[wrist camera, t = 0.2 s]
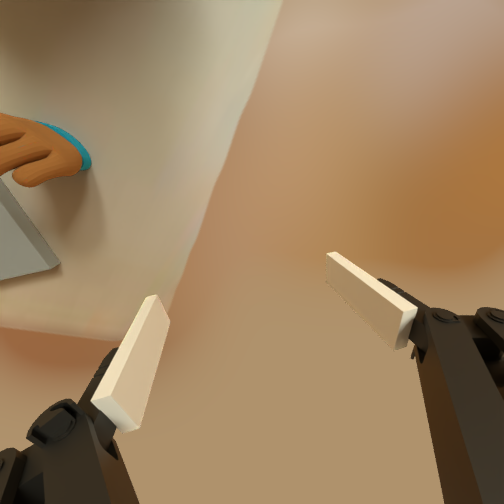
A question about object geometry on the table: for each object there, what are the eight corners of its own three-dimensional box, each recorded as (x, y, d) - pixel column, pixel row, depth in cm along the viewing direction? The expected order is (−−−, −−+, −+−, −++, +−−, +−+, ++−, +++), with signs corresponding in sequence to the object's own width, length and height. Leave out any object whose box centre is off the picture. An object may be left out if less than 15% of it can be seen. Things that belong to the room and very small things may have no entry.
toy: (-2, 135, 28) (-198, 103, 15) (19, 96, 27) (-174, 23, 14) (83, 191, 33) (-7, 205, 20) (104, 160, 32) (23, 153, 18)
